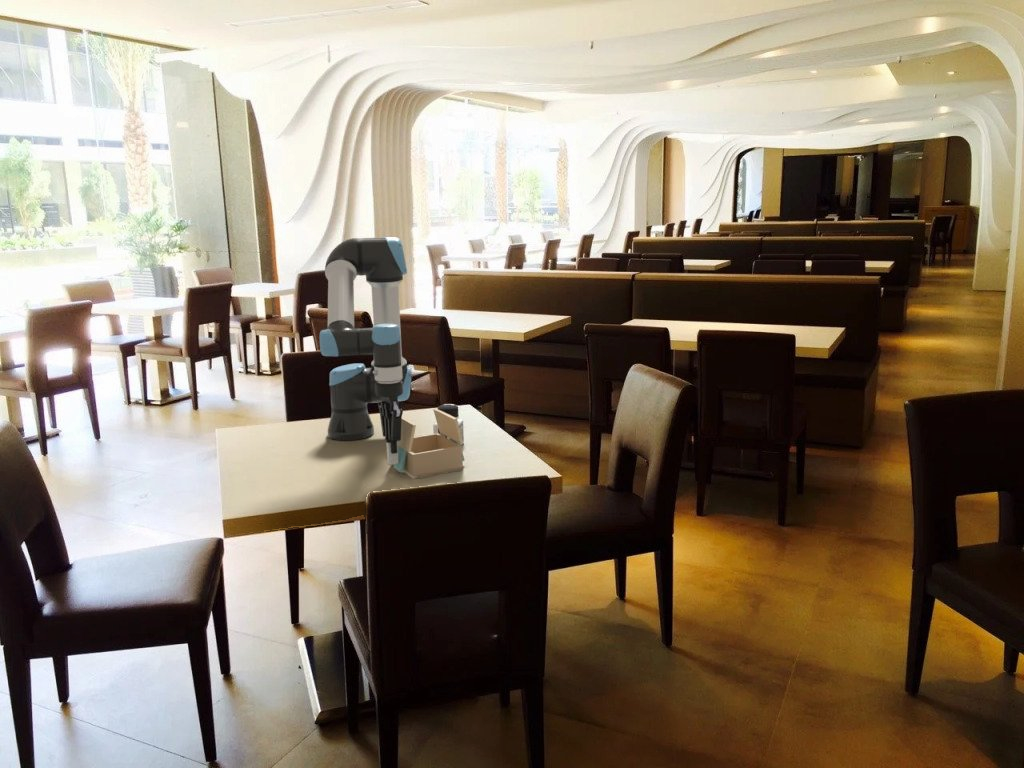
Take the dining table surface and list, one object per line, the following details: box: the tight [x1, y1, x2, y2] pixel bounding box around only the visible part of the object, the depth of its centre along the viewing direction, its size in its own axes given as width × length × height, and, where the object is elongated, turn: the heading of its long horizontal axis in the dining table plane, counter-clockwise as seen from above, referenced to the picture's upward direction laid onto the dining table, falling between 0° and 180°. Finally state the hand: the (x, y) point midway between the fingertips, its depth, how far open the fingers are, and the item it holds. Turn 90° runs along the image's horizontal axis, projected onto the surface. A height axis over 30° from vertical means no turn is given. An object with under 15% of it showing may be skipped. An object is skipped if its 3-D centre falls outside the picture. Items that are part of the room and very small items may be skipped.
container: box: [432, 403, 465, 446], centre depth 257 cm, size 8×8×13 cm
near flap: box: [393, 417, 416, 473], centre depth 231 cm, size 14×14×1 cm
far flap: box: [432, 408, 465, 462], centre depth 239 cm, size 14×14×1 cm
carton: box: [392, 433, 464, 480], centre depth 236 cm, size 17×15×7 cm
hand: (393, 463), depth 229 cm, fingers closed
